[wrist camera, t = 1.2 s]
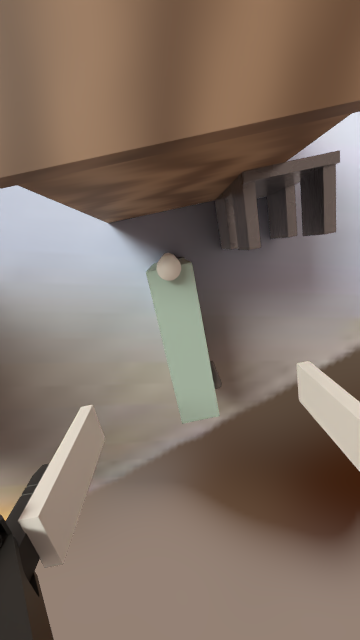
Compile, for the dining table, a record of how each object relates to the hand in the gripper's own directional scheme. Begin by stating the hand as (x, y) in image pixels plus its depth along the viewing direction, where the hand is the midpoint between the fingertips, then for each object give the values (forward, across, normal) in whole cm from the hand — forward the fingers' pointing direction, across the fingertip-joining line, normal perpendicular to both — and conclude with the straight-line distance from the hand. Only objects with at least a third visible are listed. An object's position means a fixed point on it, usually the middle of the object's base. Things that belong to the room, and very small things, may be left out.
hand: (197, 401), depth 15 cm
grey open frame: (+20, +11, +11) cm, 25 cm away
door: (+20, 0, 0) cm, 20 cm away
